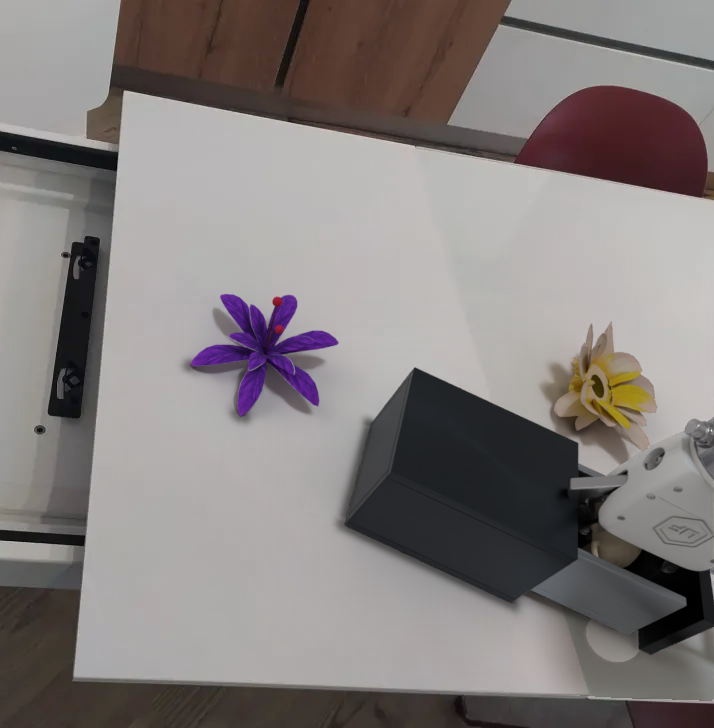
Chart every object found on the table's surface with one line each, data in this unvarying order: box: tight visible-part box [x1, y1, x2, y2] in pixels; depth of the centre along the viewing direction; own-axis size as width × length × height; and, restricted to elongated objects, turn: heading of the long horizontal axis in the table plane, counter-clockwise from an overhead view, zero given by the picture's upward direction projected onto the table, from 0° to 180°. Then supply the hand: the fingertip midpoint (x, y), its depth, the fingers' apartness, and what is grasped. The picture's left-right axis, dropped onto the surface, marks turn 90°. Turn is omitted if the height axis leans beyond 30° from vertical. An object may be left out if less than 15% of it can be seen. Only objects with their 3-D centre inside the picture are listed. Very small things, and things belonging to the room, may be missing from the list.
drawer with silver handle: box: [530, 462, 714, 656], centre depth 67 cm, size 23×11×8 cm, turn 71°
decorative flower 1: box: [190, 293, 339, 417], centre depth 72 cm, size 14×15×7 cm
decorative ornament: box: [581, 531, 642, 568], centre depth 67 cm, size 4×8×5 cm, turn 111°
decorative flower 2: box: [553, 320, 658, 452], centre depth 82 cm, size 15×11×10 cm
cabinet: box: [344, 366, 579, 603], centre depth 67 cm, size 17×13×10 cm
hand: (594, 557), depth 68 cm, fingers closed on decorative ornament, 5 cm apart
